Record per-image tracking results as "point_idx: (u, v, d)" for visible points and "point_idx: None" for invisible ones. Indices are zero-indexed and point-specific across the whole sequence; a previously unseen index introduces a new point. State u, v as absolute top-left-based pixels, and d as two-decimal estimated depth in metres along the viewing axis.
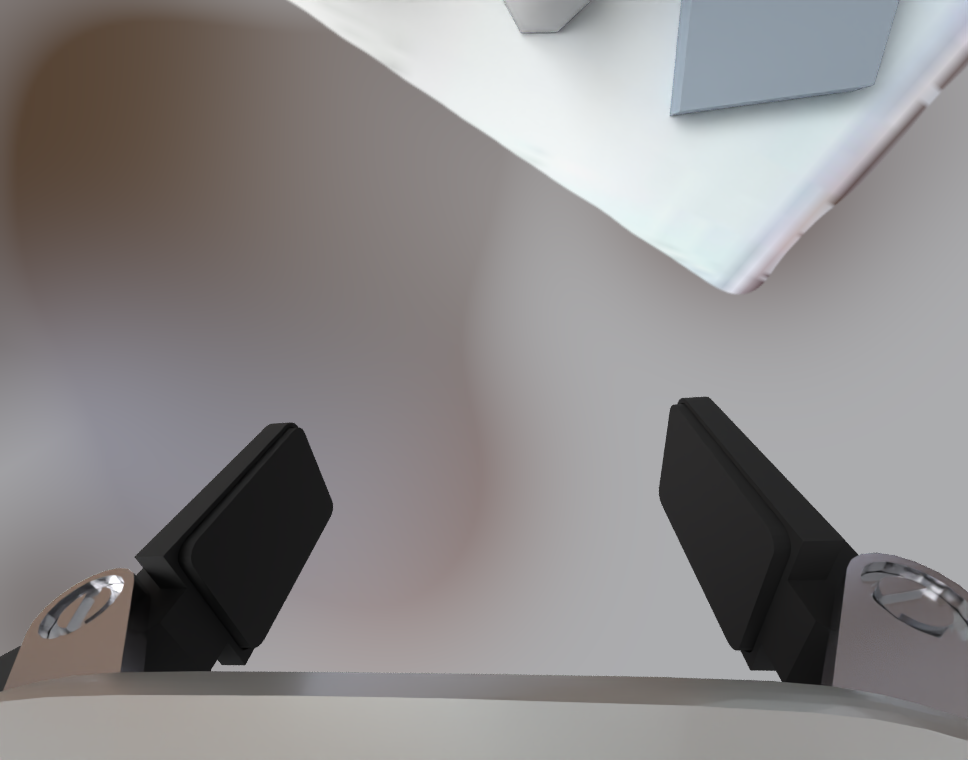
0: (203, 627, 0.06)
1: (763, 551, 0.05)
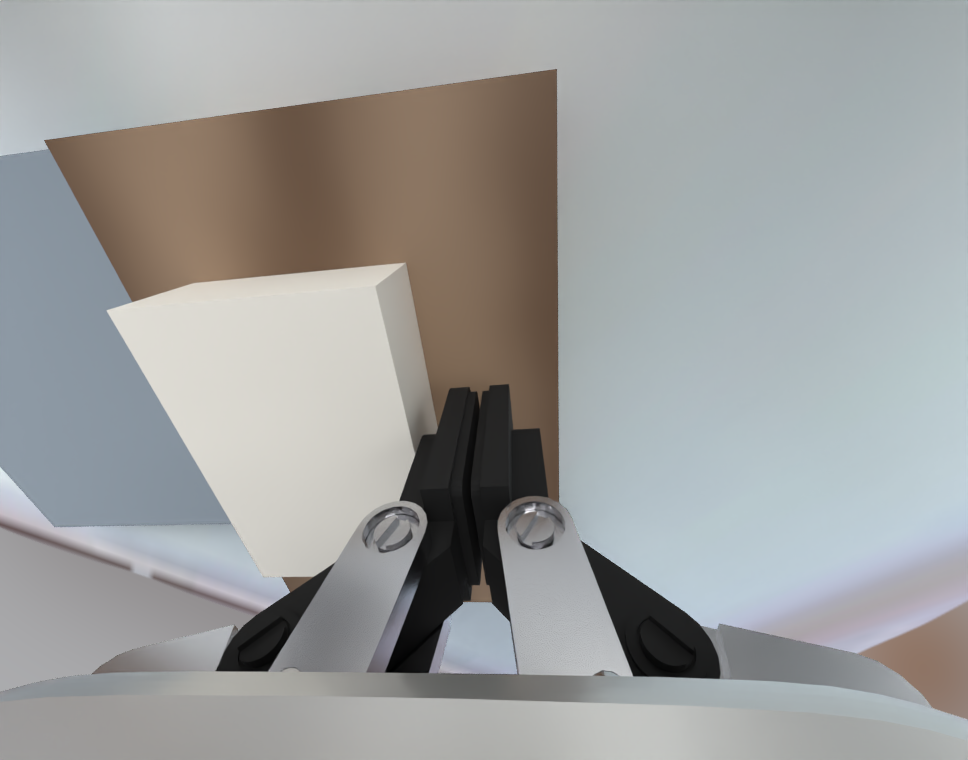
0: (459, 559, 0.07)
1: None
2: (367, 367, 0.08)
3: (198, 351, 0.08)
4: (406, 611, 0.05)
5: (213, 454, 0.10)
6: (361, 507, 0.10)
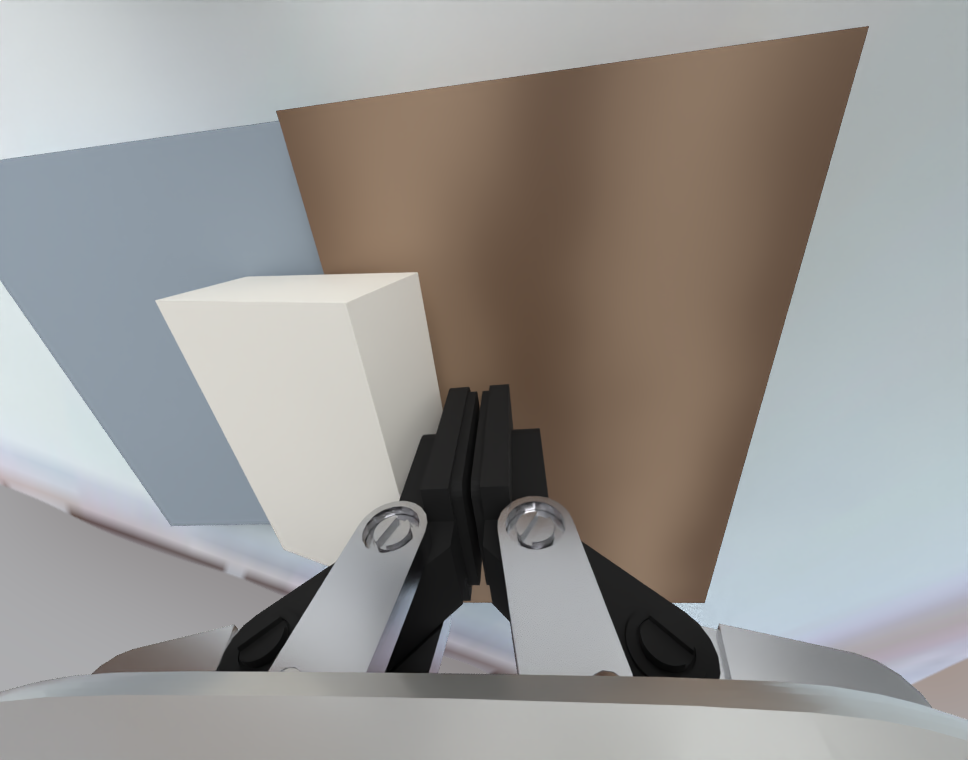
0: (459, 559, 0.07)
1: None
2: (345, 384, 0.08)
3: (216, 345, 0.09)
4: (406, 611, 0.05)
5: (237, 436, 0.11)
6: (352, 515, 0.10)
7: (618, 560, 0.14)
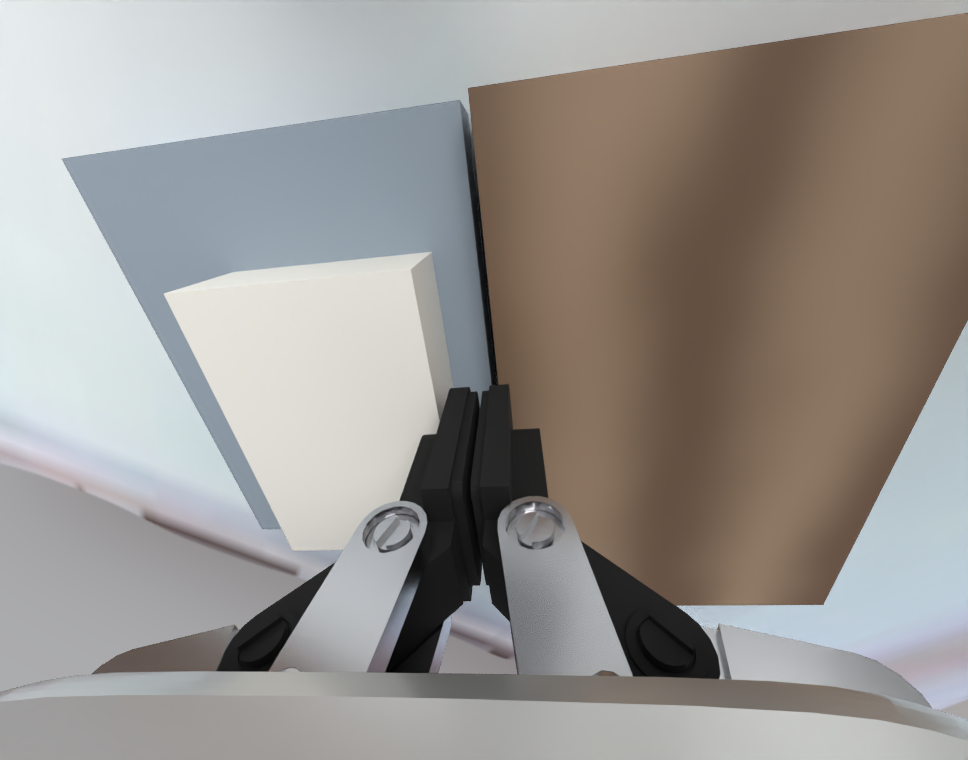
0: (460, 558, 0.07)
1: None
2: (400, 345, 0.09)
3: (245, 331, 0.09)
4: (406, 611, 0.05)
5: (253, 430, 0.10)
6: (388, 480, 0.11)
7: (740, 561, 0.14)
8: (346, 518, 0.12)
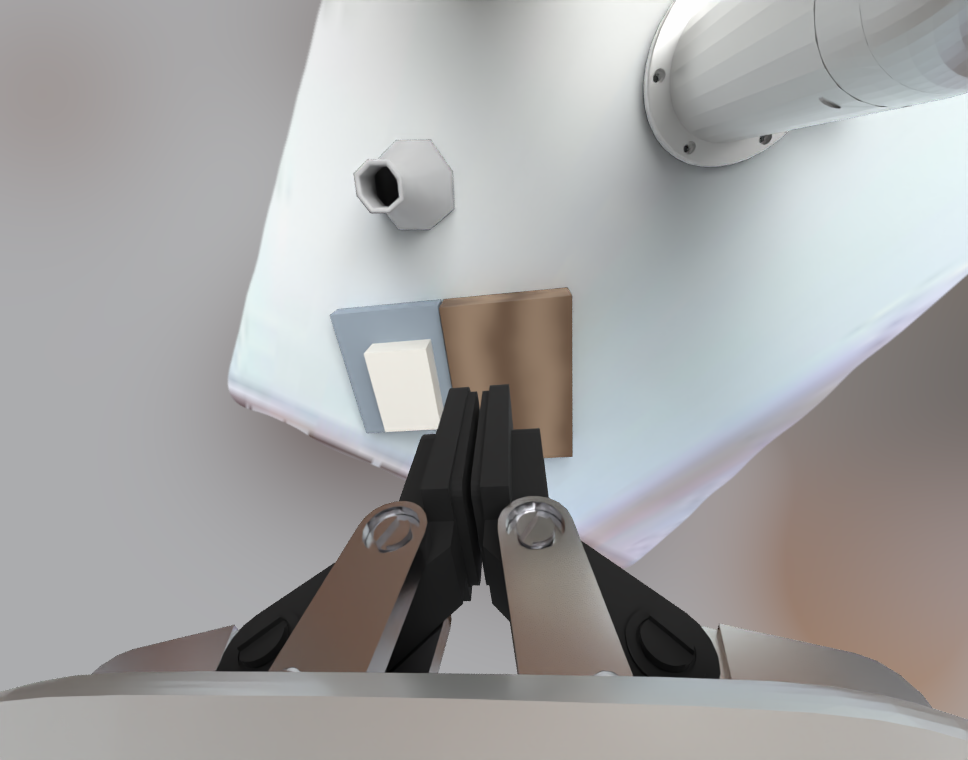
0: (459, 559, 0.07)
1: None
2: (422, 366, 0.35)
3: (382, 362, 0.35)
4: (406, 611, 0.05)
5: (379, 389, 0.37)
6: (418, 405, 0.37)
7: None
8: (404, 418, 0.38)
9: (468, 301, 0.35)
